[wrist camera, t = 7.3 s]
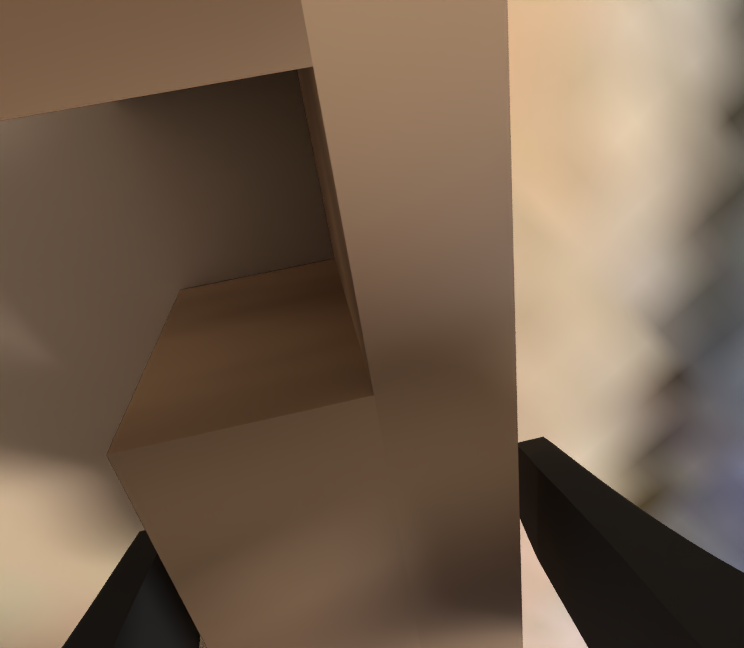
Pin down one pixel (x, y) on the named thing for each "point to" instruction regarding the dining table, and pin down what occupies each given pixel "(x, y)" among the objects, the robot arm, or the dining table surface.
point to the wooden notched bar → (327, 325)
